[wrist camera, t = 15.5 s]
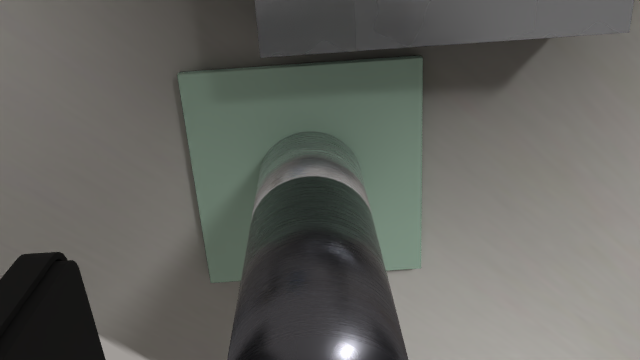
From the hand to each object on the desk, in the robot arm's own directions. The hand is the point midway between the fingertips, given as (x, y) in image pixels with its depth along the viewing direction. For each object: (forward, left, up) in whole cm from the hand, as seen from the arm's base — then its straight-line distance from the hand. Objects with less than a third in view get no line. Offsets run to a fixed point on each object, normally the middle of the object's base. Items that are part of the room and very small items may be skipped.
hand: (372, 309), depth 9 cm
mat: (+1, +2, -12) cm, 12 cm away
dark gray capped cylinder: (+1, +2, -11) cm, 11 cm away
